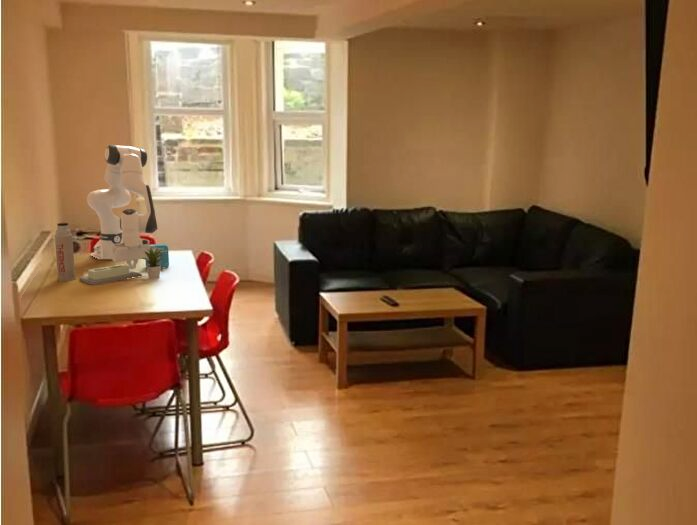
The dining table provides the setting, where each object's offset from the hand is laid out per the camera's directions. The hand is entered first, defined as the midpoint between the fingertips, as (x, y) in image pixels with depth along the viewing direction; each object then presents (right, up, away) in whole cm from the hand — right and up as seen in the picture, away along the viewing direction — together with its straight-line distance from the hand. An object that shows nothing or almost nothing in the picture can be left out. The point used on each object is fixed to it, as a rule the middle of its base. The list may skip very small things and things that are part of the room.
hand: (132, 268), depth 364 cm
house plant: (+13, -5, -7) cm, 16 cm away
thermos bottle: (-29, -5, -11) cm, 32 cm away
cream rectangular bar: (-9, -4, -9) cm, 13 cm away
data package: (+8, 0, +19) cm, 20 cm away
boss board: (-8, -5, -8) cm, 13 cm away
